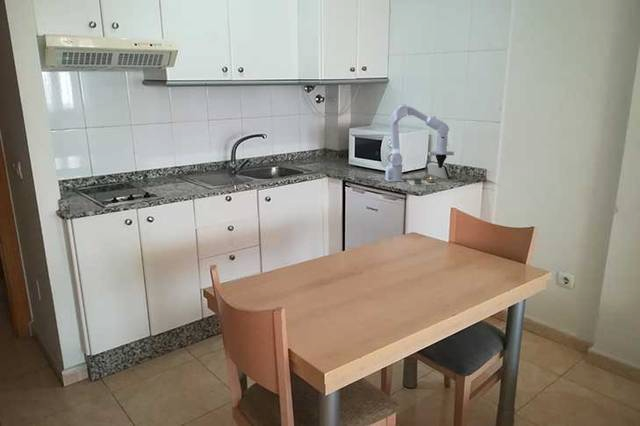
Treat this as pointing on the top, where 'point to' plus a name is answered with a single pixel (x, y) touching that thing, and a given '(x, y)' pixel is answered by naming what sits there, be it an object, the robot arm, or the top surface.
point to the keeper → (417, 180)
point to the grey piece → (438, 170)
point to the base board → (423, 183)
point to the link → (428, 179)
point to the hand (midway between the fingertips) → (440, 167)
